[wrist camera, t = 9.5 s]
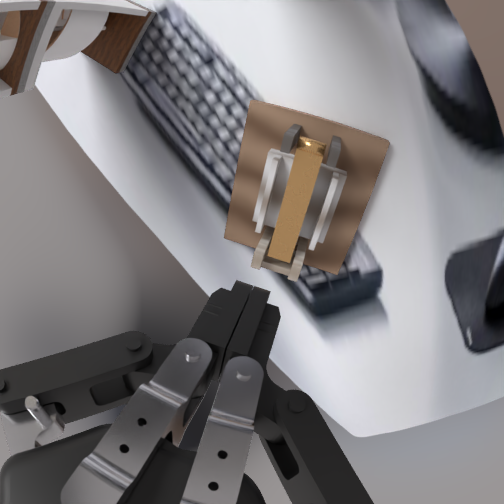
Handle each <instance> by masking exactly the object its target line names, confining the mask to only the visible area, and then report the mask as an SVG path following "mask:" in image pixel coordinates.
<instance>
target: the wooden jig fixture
mask: <svg viewBox="0 0 504 504" xmlns="http://www.w3.org/2000/svg"><path fill="white" fill-rule="evenodd" d="M300 136H303V137H306V138H310V139H313V140H316V141H319V142H323V143H326V144H327V146H326V149H325V153H324V156H323V159H322V163H321V166H320V169H319V173H318V176H317V179H316V182H315V186H314V189H313V192H312V195H311V198H310V202H309V205H308V208H307V211H306V214H305V217H304V221H303V224H302V227H301V230H300V233H299V236H298V239H297V242H296V245H295V248H294V251H293V254H292V257H291V260H290V263H288V262H284V261H281V260H278V259H275V258H272V257H269V256H267V255H268V251H269V248H270V244H271V240H272V237H273V233H274V230H275V226H276V222H277V219H278V215H279V212H280V208H281V204H282V201H283V197H284V193H285V190H286V186H287V182H288V179H289V175H290V171H291V167H292V164H293V160H294V156H295V153H296V149H297V144H298V141H299V138H300ZM389 144H390V143H389V141H388V140H386V139H383V138H380V137H378V136H375V135H372V134H369V133H367V132H364V131H361V130H358V129H355V128H352V127H349V126H346V125H343V124H340V123H337V122H334V121H331V120H328V119H324V118H321V117H318V116H314V115H311V114H308V113H304V112H300V111H297V110H293V109H289V108H286V107H282V106H278V105H274V104H270V103H265V102H261V101H257V100H251V101H250V104H249V109H248V114H247V119H246V124H245V129H244V134H243V139H242V144H241V149H240V154H239V159H238V164H237V170H236V175H235V180H234V185H233V191H232V196H231V201H230V207H229V212H228V218H227V223H226V229H225V235H224V238H225V239H228V240H231V241H234V242H237V243H241V244H244V245H247V246H250V247H253V248H256V250H255V252H254V255H253V259H252V263H251V267H252V268H255V269H259V270H260V267H263V268H266V269H269V270H272V271H275V272H278V273H281V274H284V275H287V276H288V279H289V280H292V281H295V282H297V279H298V277H299V274H300V271H301V268H302V265H303V264H305V265H308V266H312V267H315V268H318V269H321V270H324V271H327V272H330V273H333V274H336V275H337V274H338V272H339V270H340V268H341V265H342V263H343V261H344V259H345V256H346V254H347V252H348V249H349V247H350V245H351V242H352V240H353V238H354V235H355V233H356V230H357V228H358V226H359V223H360V221H361V218H362V216H363V213H364V211H365V208H366V206H367V203H368V201H369V198H370V196H371V193H372V190H373V188H374V185H375V182H376V180H377V177H378V174H379V172H380V169H381V166H382V163H383V161H384V158H385V155H386V152H387V149H388V146H389Z"/></svg>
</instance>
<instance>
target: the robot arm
mask: <svg viewBox="0 0 504 504" xmlns="http://www.w3.org/2000/svg"><path fill="white" fill-rule="evenodd" d="M252 289H253V290H252ZM269 295H270V291H268V290H265V289H262V288H259V287H256V286H254V287H253V286H252V285H249V284H246V283H243V282H241V281H238V280H237V281H236V282H235V284H234V286H233V288H232V290H231V291H229V290H226V289H223V288H220V289H218V290H217V291H215V292H214V293H212V295H211V296H210V298H209V300H208V302H207V304H206V305H205V307H204V309H203V311H202V312H201V314H200V316H199V317H198V319H197V321H196V323H195V324H194V326H193V328H192V330H191V332H190V333H189V335H188V337H187V338H186V339H184V340H181V341H180V342H178V343H177V344H174V345H162V344H154V343H152V342H151V340H150V338H149V337H148V336H147V335H146V334H144V333H141V332H138V331H129V332H125V333H122V334H119V335H116V336H113V337H109V338H107V339H103V340H100V341H97V342H93V343H90V344H87V345H84V346H81V347H77V348H74V349H70V350H67V351H64V352H61V353H57V354H54V355H50V356H47V357H44V358H40V359H37V360H33V361H30V362H26V363H23V364H19V365H16V366H12V367H8V368H5V369H1V370H0V415H1V419H2V424H3V428H4V432H5V436H6V440H7V444H8V447H9V451H10V454H11V457H10V458H9V459H7V461H6V462H5V463H4V465H3V467H2V469H1V472H0V504H266V503H265V501H264V498H263V496H262V494H261V492H260V490H259V489H258V487H257V486H256V484H255V483H254V481H253V480H252V479H251V478H250V477H249V476H248V475H246V474H245V473H244V469H245V465H246V461H247V457H248V453H249V449H250V444H251V440H252V436H253V431H254V432H256V433H257V434H259V438H260V440H261V442H262V444H263V446H264V449H265V450H266V453H267V455H268V457H269V459H270V461H271V463H272V465H273V467H274V469H275V471H276V473H277V475H278V477H279V478H280V481H281V483H282V485H283V486H284V489H285V490H286V492H287V494H288V496H289V498H290V500H291V502H292V504H374V503H373V501H372V500H371V498H370V496H369V495H368V493H367V491H366V490H365V488H364V486H363V485H362V483H361V481H360V480H359V478H358V476H357V475H356V473H355V471H354V470H353V468H352V466H351V465H350V463H349V461H348V460H347V458H346V456H345V455H344V453H343V451H342V449H341V448H340V446H339V444H338V443H337V441H336V439H335V438H334V436H333V434H332V432H331V431H330V429H329V427H328V426H327V424H326V422H325V421H324V419H323V417H322V415H321V414H320V412H319V410H318V408H317V407H316V405H315V403H314V402H313V400H312V399H311V397H310V396H309V395H307V394H306V393H304V392H302V391H299V390H288V391H285V390H283V389H282V388H280V387H279V386H277V385H276V384H275V383H273V381H271V379H270V378H269V376H268V374H267V370H266V364H267V361H268V358H269V354H270V351H271V348H272V345H273V341H274V338H275V335H276V331H277V328H278V325H279V321H280V318H281V316H280V312H279V307H277V306H274V305H271V304H268V303H267V301H268V298H269ZM220 375H221V376H220ZM219 377H220V380H219V382H220V385H219V388H218V391H217V394H216V398H215V401H214V404H213V407H212V410H211V412H210V415H209V417H208V421H207V423H206V427H205V430H204V433H203V436H202V439H201V442H200V445H199V448H198V451H197V452H195V451H188V450H182V449H180V448H178V446H179V444H180V442H181V439H182V437H183V434H184V432H185V429H186V428H187V426H188V424H189V422H190V421H191V419H192V417H193V415H194V414H195V412H196V410H197V408H198V406H199V405H200V403H201V401H202V399H203V397H204V396H205V393H206V391H207V389H208V387H209V385H210V383H211V380H214V381H218V379H219ZM126 403H127V404H126ZM123 404H126V406H125V407H124V409H123V410H122V412H121V413H120V414H119V416H118V417H117V418H116V420H115V421H114V423H113V424H105V425H100V426H97V427H94V428H92V429H89V430H86V431H84V432H81V433H78V434H75V435H72V436H70V437H67V438H64V439H61V440H58V441H55V442H52V443H50V442H51V441H53V440H55V439H57V438H58V437H60V436H61V435H62V433H63V431H64V428H65V424H67V423H70V422H73V421H76V420H79V419H83V418H86V417H88V416H92V415H95V414H97V413H101V412H104V411H106V410H109V409H112V408H115V407H118V406H121V405H123Z"/></svg>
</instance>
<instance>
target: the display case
mask: <svg viewBox="0 0 504 504" xmlns="http://www.w3.org/2000/svg"><path fill="white" fill-rule="evenodd" d="M155 14H156V12H154V11H152V10H150V9H148V8H146V7H143V6H141V5H139V4H137V3H135V2H133V1H130V0H0V99H1V98H4V97H7V96H11V95H14V94H17V93H21V92H24V91H28V90H31V89H33V87H34V85H35V81H36V78H37V75H38V71H39V68H40V65H41V62H45V61H52V60H58V59H64V58H68V57H71V56H73V55H75V54H77V53H79V52H80V51H81V52H82V53H84V54H86V55H87V56H89V57H90V58H92V59H94V60H95V61H97V62H99V63H100V64H102V65H103V66H105V67H106V68H108V69H110V70H111V71H113V72H114V73H121V72H124V70H125V68H126V66H127V64H128V62H129V60H130V59H131V57H132V55H133V53H134V51H135V49H136V47H137V45H138V44H139V42H140V40H141V38H142V36H143V35H144V33H145V31H146V29H147V28H148V26H149V24H150V23H151V21H152V19H153V18H154V16H155Z"/></svg>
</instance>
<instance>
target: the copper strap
mask: <svg viewBox="0 0 504 504" xmlns="http://www.w3.org/2000/svg"><path fill="white" fill-rule="evenodd" d="M326 146H327V144H326V143H323V142H319V141H316V140H313V139H310V138H306V137H303V136H300V138H299V141H298V144H297V149H296V153H295V156H294V160H293V164H292V167H291V171H290V175H289V179H288V182H287V186H286V190H285V193H284V197H283V201H282V204H281V208H280V212H279V215H278V219H277V222H276V226H275V230H274V233H273V237H272V240H271V244H270V248H269V251H268V255H267V256H269V257H272V258H275V259H278V260H281V261H284V262H288V263H290V260H291V257H292V254H293V251H294V248H295V245H296V242H297V239H298V236H299V233H300V230H301V227H302V224H303V221H304V217H305V214H306V211H307V208H308V205H309V202H310V198H311V195H312V192H313V189H314V186H315V182H316V179H317V176H318V173H319V169H320V166H321V163H322V159H323V156H324V153H325V149H326Z"/></svg>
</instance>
